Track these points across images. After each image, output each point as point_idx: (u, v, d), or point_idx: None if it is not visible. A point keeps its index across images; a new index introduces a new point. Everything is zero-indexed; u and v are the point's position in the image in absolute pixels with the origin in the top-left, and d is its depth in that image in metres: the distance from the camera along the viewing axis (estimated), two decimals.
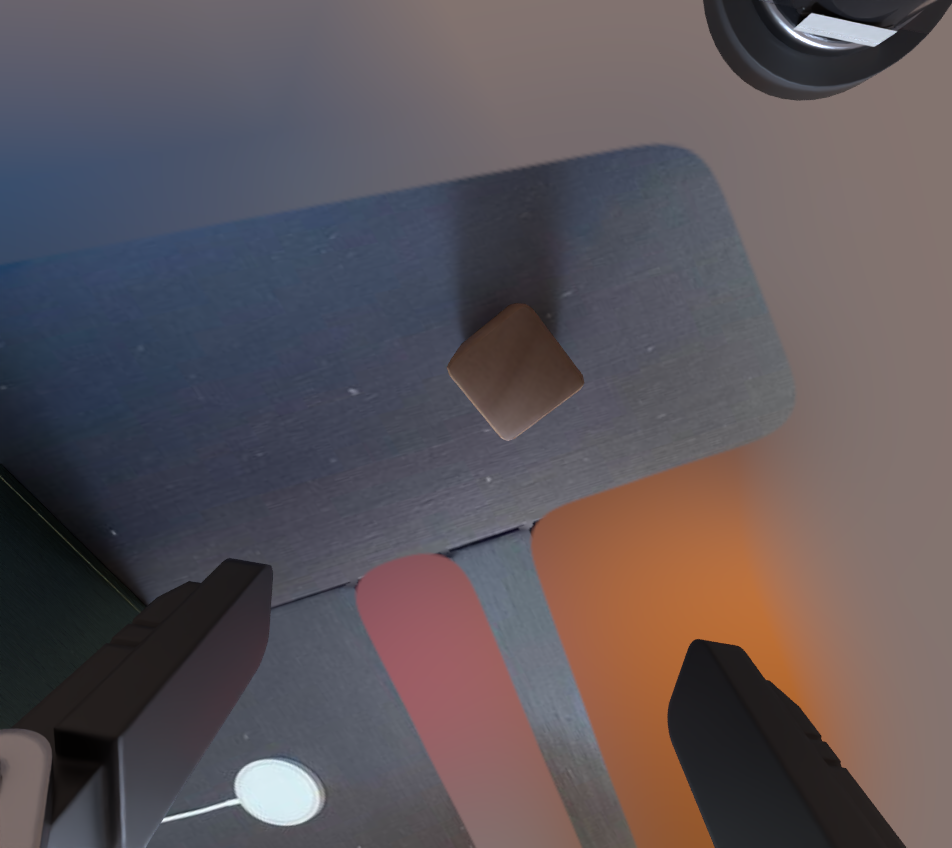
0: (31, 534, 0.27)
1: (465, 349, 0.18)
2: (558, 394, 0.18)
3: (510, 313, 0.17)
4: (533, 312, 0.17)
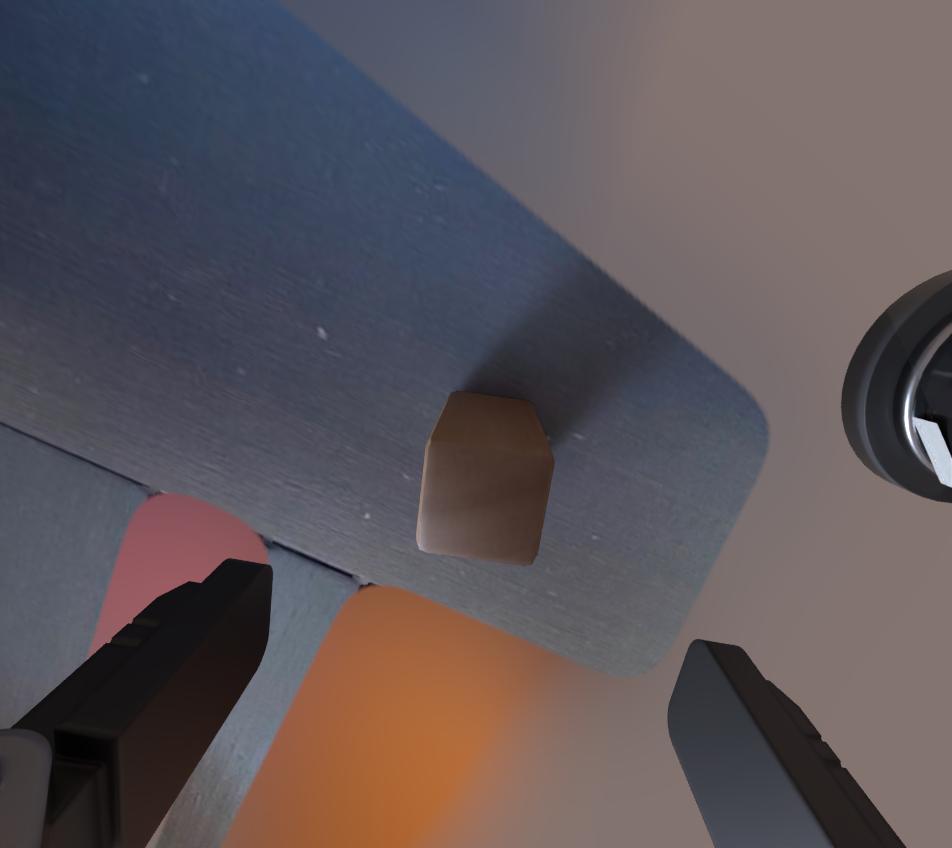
0: None
1: (462, 440, 0.14)
2: (502, 554, 0.15)
3: (532, 450, 0.14)
4: (552, 469, 0.14)
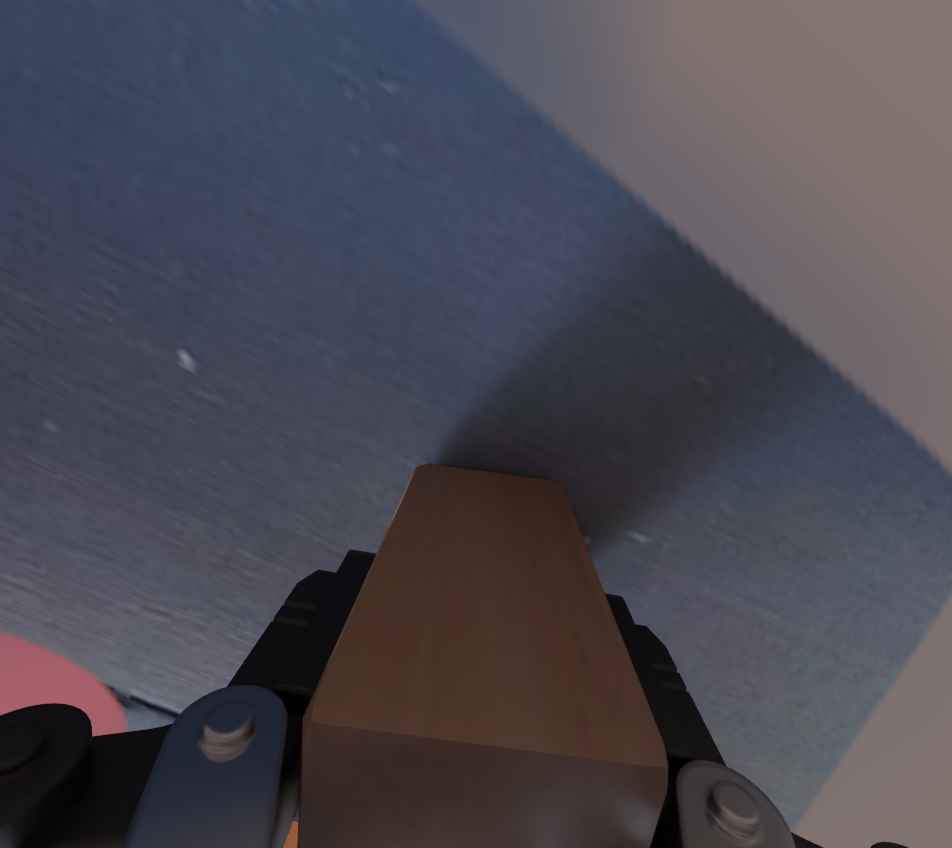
0: None
1: (406, 711, 0.05)
2: None
3: (609, 741, 0.05)
4: (664, 790, 0.05)
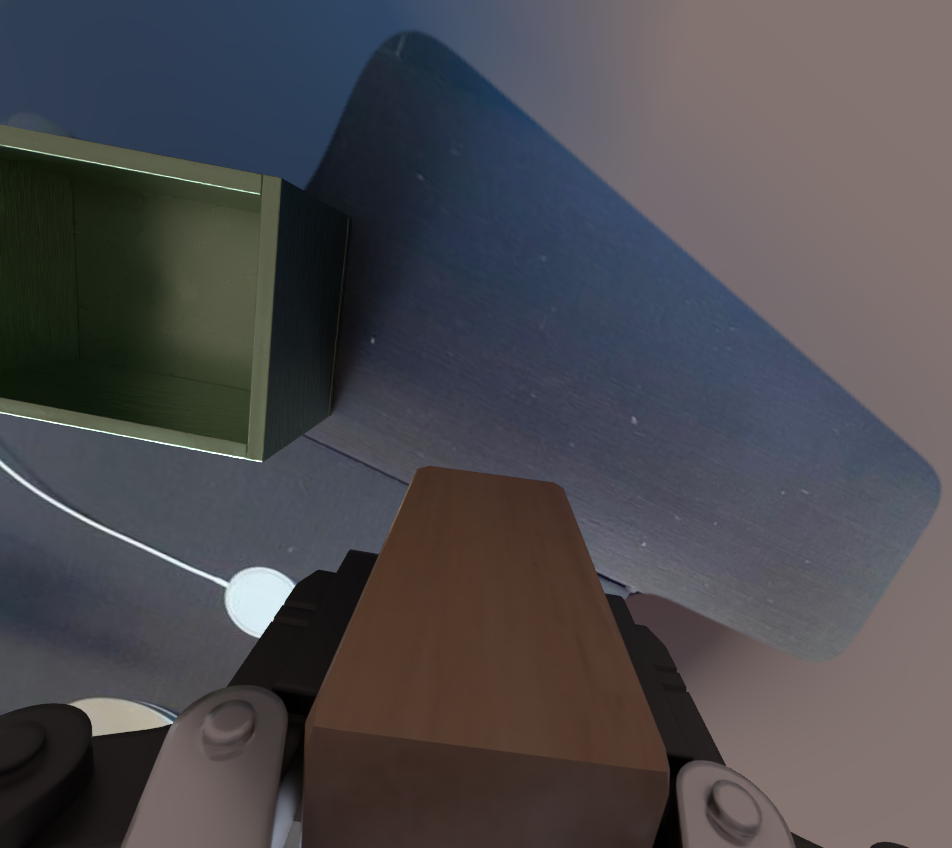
0: (334, 293, 0.28)
1: (408, 715, 0.05)
2: None
3: (610, 745, 0.05)
4: None
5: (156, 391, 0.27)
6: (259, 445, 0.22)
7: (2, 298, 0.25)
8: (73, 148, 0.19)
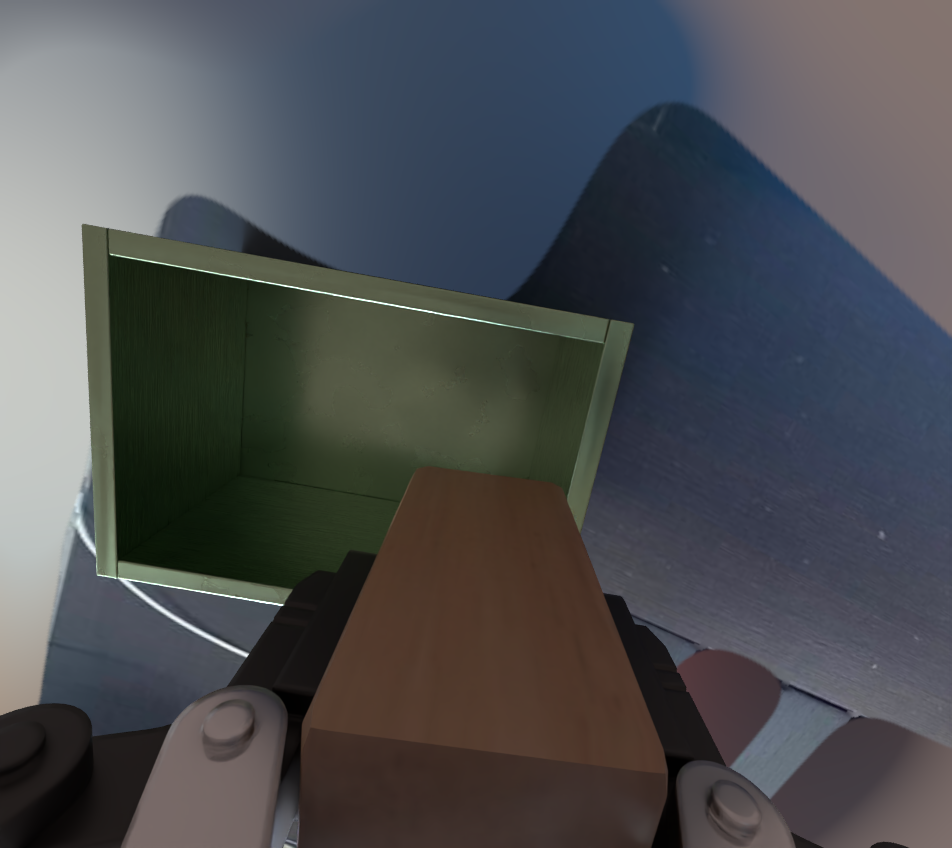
0: None
1: (405, 717, 0.05)
2: None
3: (608, 747, 0.05)
4: (663, 796, 0.05)
5: (360, 528, 0.23)
6: None
7: (189, 430, 0.21)
8: (364, 287, 0.15)
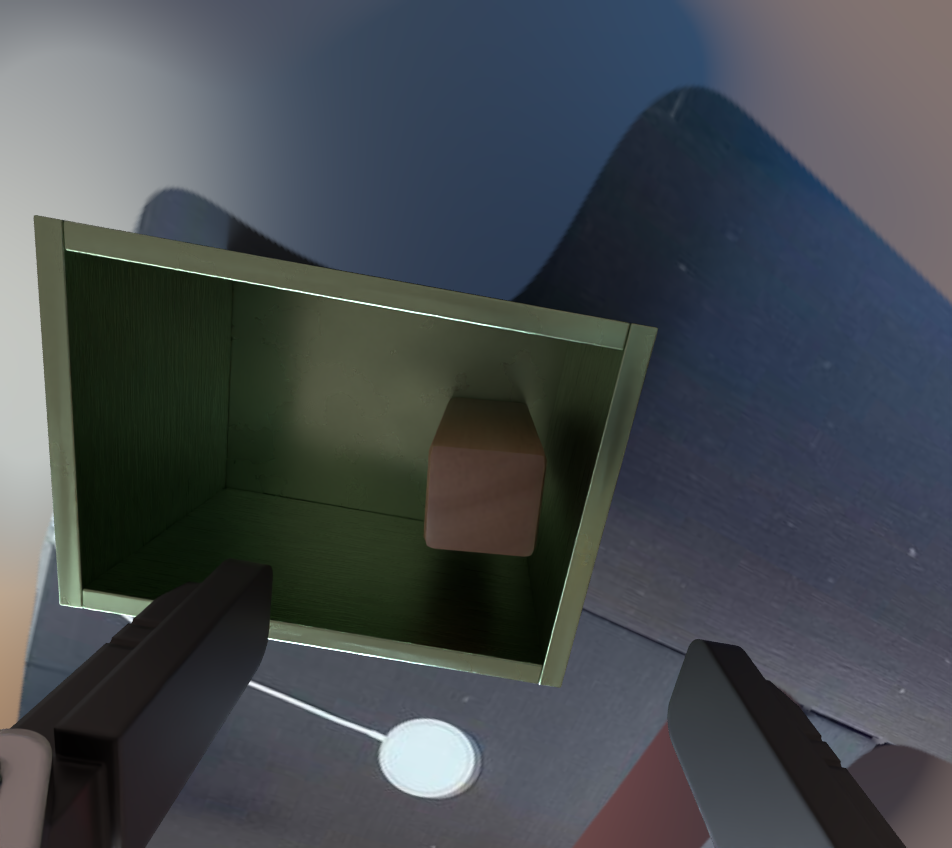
0: None
1: (462, 444, 0.16)
2: (503, 547, 0.16)
3: (526, 450, 0.15)
4: (545, 466, 0.16)
5: (353, 547, 0.21)
6: (560, 667, 0.16)
7: (167, 443, 0.19)
8: (353, 287, 0.13)
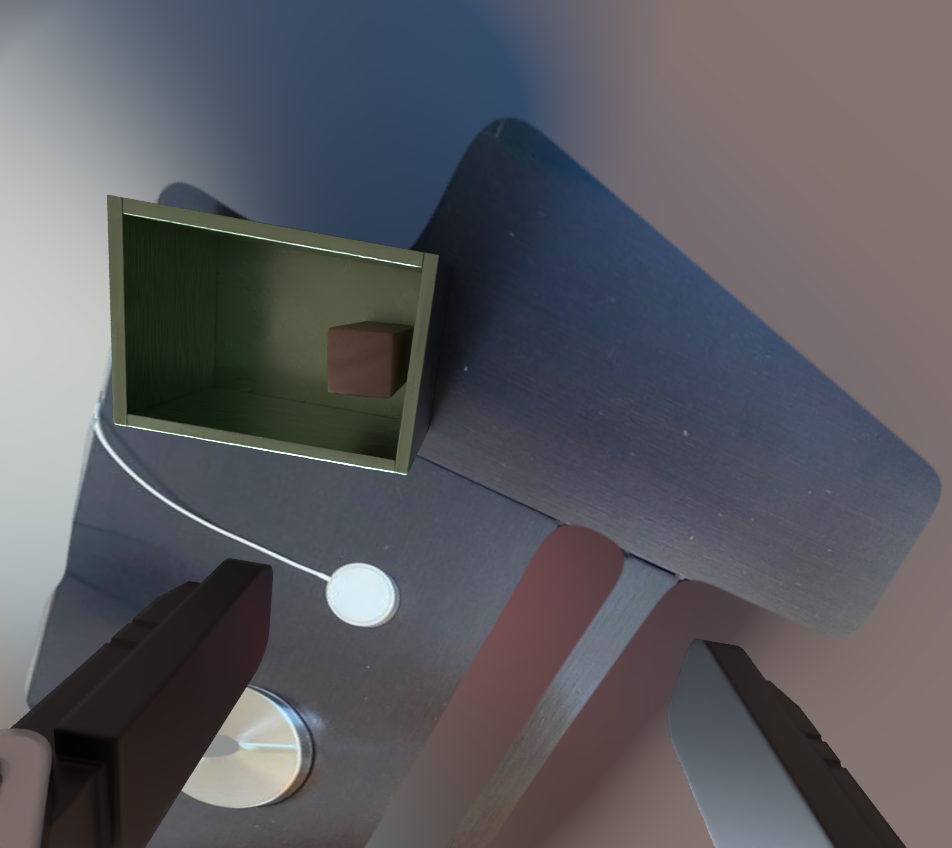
0: (441, 331, 0.33)
1: (345, 328, 0.27)
2: (372, 391, 0.28)
3: (382, 331, 0.27)
4: (393, 341, 0.27)
5: (295, 415, 0.33)
6: (405, 461, 0.28)
7: (175, 341, 0.31)
8: (276, 233, 0.25)
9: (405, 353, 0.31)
